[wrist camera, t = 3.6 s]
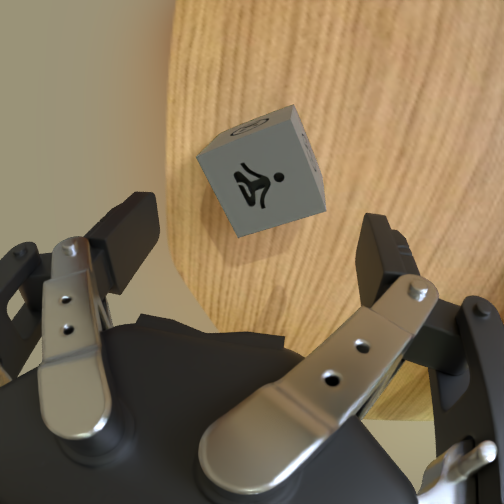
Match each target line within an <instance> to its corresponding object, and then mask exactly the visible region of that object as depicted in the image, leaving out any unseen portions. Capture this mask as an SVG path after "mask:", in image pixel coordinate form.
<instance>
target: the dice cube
mask: <svg viewBox="0 0 504 504" xmlns="http://www.w3.org/2000/svg"><path fill="white" fill-rule="evenodd" d="M196 158H197V160H198V162H199V164H200V166H201V168H202V170H203V172H204V174H205V176H206V177H207V179H208V181H209V183H210V185H211V187H212V189H213V191H214V193H215V195H216V197H217V199H218V200H219V202H220V204H221V206H222V208H223V210H224V212H225V214H226V216H227V218H228V220H229V221H230V223H231V225H232V227H233V229H234V231H235V233H236V235H237V237H238V238H239V237H243V236H246V235H249V234H252V233H256V232H259V231H262V230H266V229H269V228H272V227H275V226H279V225H282V224H285V223H289V222H292V221H295V220H299V219H302V218H305V217H309V216H312V215H315V214H319V213H322V212H325V211H326V203H325V194H324V185H323V177H322V174H321V171H320V168H319V166H318V163H317V160H316V158H315V155H314V153H313V150H312V148H311V145H310V142H309V140H308V137H307V135H306V132H305V130H304V127H303V125H302V123H301V120H300V118H299V115H298V113H297V111H296V108H295V106H294V104H293V105H291V106H288V107H285V108H282V109H280V110H277V111H274V112H272V113H269V114H266V115H264V116H261V117H259V118H256V119H253V120H251V121H248V122H246V123H244V124H241V125H239V126H236V127H234V128H231V129H229V130H227V131H224V132H222V133H220V134H219V135H218V136H217V137H216V138H215V139H214V140H213V141H212V142H211V143H209V144H208V145H207V146H206V147H205V148H204V149H203V150H202V151H201V152H200V153H199V154H198V155H197V156H196Z"/></svg>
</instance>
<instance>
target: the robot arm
mask: <svg viewBox="0 0 504 504" xmlns="http://www.w3.org/2000/svg"><path fill="white" fill-rule="evenodd" d="M159 234H160V225H159V218H158V211H157V203H156V197H155V194H154V193H152V192H134V193H133V194H132V195H131V196H130V197H128V198H127V199H126V200H125V201H124V202H123V203H121V204H120V205H118V206H116V207H114V208H112V209H111V210H110V211H109V212H108V213H107V214H106V215H105V216H104V217H103V218H102V219H101V220H100V222H98V223H97V224H96V225H95V226H94V227H93V228H92V229H91V230H90V231H89V232H88V233H87V234H86V235H85V236H84V237H80V236H76V237H70V238H67V239H65V240H63V241H61V242H60V243H58V244H57V245H56V246H55V248H54V249H53V252H52V253H45V254H39V252H38V249H37V246H36V244H35V243H33V242H24V243H21V244H18V245H17V246H15V247H13V248H12V249H11V250H10V251H9V252H8V253H7V254H6V255H5V256H4V257H3V258H2V259H1V260H0V504H504V325H503V323H502V320H501V318H500V315H499V313H498V311H497V309H496V308H495V307H494V306H493V305H492V304H491V303H490V302H489V301H488V300H486V299H484V298H482V297H479V296H468V297H466V298H465V299H464V301H463V303H462V305H461V306H458V305H455V304H452V303H449V302H446V301H444V300H441V299H439V293H438V290H437V288H436V287H435V285H434V284H433V283H431V282H430V281H429V280H427V279H426V278H424V277H421V276H420V273H419V270H418V268H417V265H416V263H415V260H414V257H413V256H412V253H411V250H410V249H409V245H408V243H407V240H406V238H405V237H404V236H403V235H402V234H401V233H400V232H399V231H398V230H392V229H391V228H390V225H389V223H388V220H387V218H386V216H385V215H379V214H371V213H366V214H365V215H364V219H363V223H362V228H361V232H360V237H359V241H358V245H357V250H356V258H355V265H356V272H357V279H358V286H359V293H360V301H361V307H360V308H359V309H358V310H357V311H356V312H355V313H354V314H353V315H352V316H351V317H350V318H349V319H347V320H346V321H345V322H344V323H343V324H342V325H341V326H340V327H339V328H338V329H337V330H336V331H335V332H334V333H333V334H332V335H330V336H329V337H328V338H327V339H326V340H325V341H324V342H323V343H322V344H321V345H319V346H318V347H317V348H316V349H315V350H314V351H313V352H312V353H310V354H309V355H308V356H307V357H306V358H305V357H303V356H301V355H300V354H298V353H296V352H294V351H291V350H289V349H286V348H283V347H284V340H285V336H277V335H269V334H261V333H254V332H229V333H204V332H201V331H199V330H196V329H194V328H191V327H189V326H187V325H184V324H182V323H180V322H177V321H175V320H171V319H166V318H161V317H156V316H151V315H146V314H140V316H139V318H138V320H137V321H136V323H134V324H124V325H119V326H115V327H113V323H112V319H111V315H110V310H109V306H108V302H107V299H106V295H107V293H113V294H118V295H121V294H122V292H123V291H124V289H125V288H126V286H127V285H128V283H129V282H130V280H131V279H132V277H133V276H134V274H135V273H136V272H137V270H138V269H139V267H140V266H141V264H142V263H143V261H144V260H145V259H146V257H147V256H148V254H149V253H150V251H151V250H152V249H153V247H154V246H155V244H156V243H157V241H158V238H159ZM18 289H19V291H20V293H21V295H22V297H23V299H24V301H25V303H24V305H23V306H22V307H21V309H20V310H19V311H18V313H17V314H16V316H15V317H14V319H13V320H12V321H11V320H10V318H9V316H8V314H7V304H8V301H9V300H10V299H11V297H12V296H13V295H14V294H15V292H16V291H17V290H18ZM41 336H42V363H41V364H39V366H38V367H36V368H34V369H33V370H30V371H29V372H27V373H25V374H23V375H21V376H19V377H18V375H19V373H20V371H21V370H22V368H23V366H24V364H25V363H26V361H27V359H28V358H29V356H30V354H31V353H32V351H33V349H34V348H35V346H36V345H37V343H38V341H39V340H40V338H41ZM406 360H407V361H410V362H413V363H416V364H419V365H422V366H425V367H428V372H429V380H430V387H431V395H432V404H433V414H434V425H435V438H436V459H435V460H433V461H432V462H431V463H430V464H429V465H428V466H427V468H426V470H425V472H424V475H423V480H422V485H421V488H420V490H419V492H418V494H416V491H415V489H414V487H413V485H412V484H411V482H410V481H409V479H408V478H407V477H406V476H405V474H404V473H403V472H402V471H401V470H400V468H399V467H398V466H397V465H396V463H395V462H394V461H393V460H392V459H391V457H390V456H389V455H388V454H387V453H386V451H385V450H384V449H383V448H382V447H381V445H380V444H379V443H378V442H377V440H376V439H375V438H374V437H373V435H372V434H371V433H370V432H369V430H368V429H367V428H366V427H365V426H364V424H363V423H362V422H361V420H362V419H363V418H364V416H365V415H366V414H367V413H368V411H369V410H370V409H371V407H372V406H373V404H374V403H375V402H376V400H377V399H378V398H379V396H380V395H381V394H382V393H383V391H384V390H385V389H386V387H387V386H388V385H389V383H390V382H391V381H392V379H393V378H394V377H395V375H396V374H397V372H398V371H399V370H400V368H401V367H402V365H403V364H404V363H405V361H406ZM17 377H18V378H17Z"/></svg>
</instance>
